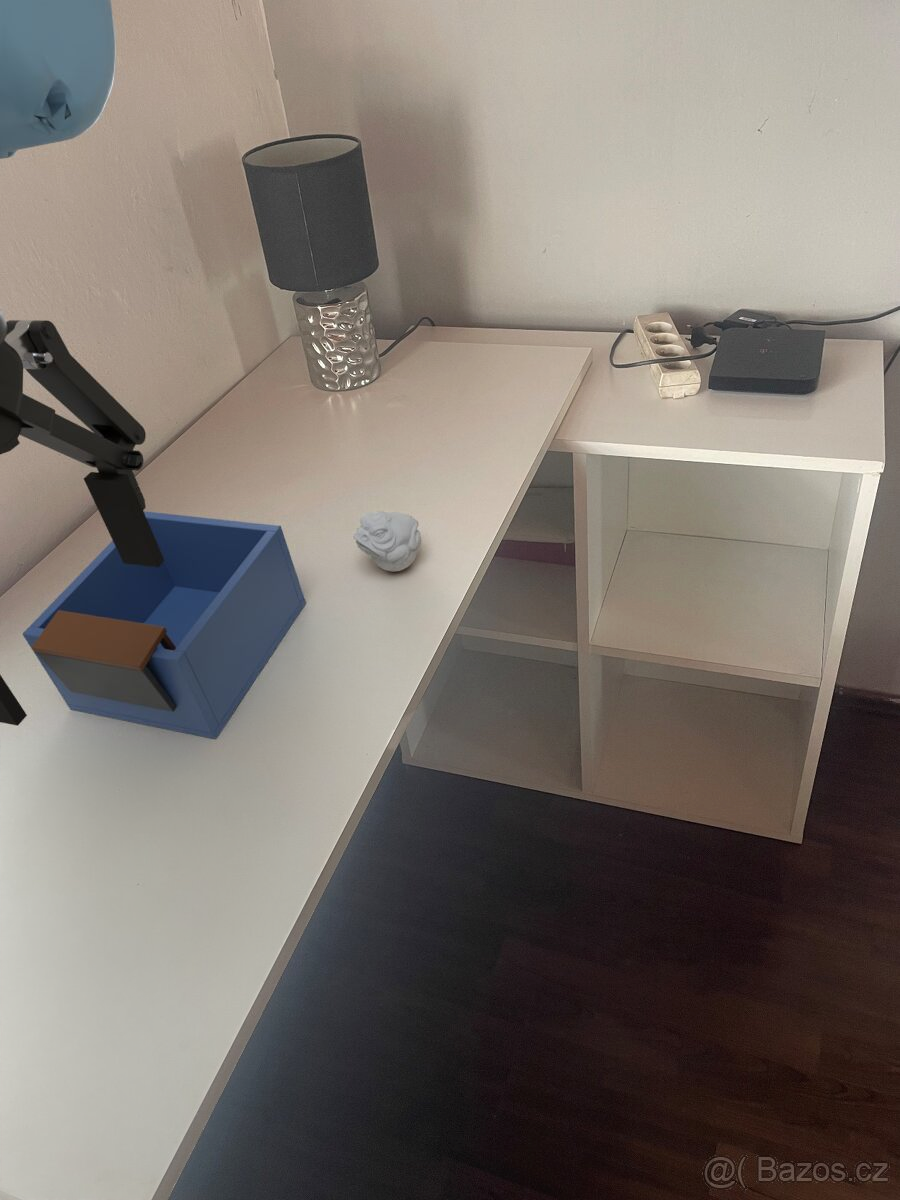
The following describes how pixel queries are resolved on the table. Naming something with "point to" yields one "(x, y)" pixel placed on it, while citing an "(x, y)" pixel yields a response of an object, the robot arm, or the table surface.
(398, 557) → the frog figurine
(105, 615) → the bin
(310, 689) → the table surface
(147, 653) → the two-tone wooden bracket
